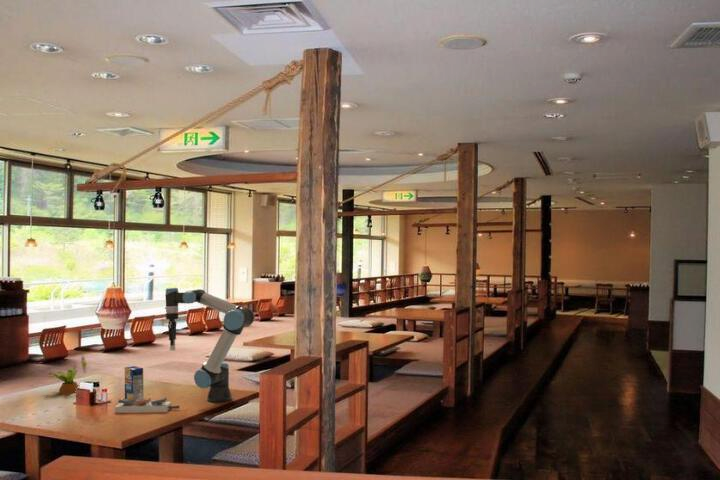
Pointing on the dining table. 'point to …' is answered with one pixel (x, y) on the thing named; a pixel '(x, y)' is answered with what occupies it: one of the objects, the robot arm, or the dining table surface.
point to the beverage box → (133, 383)
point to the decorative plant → (69, 379)
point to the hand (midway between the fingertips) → (172, 350)
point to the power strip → (144, 407)
